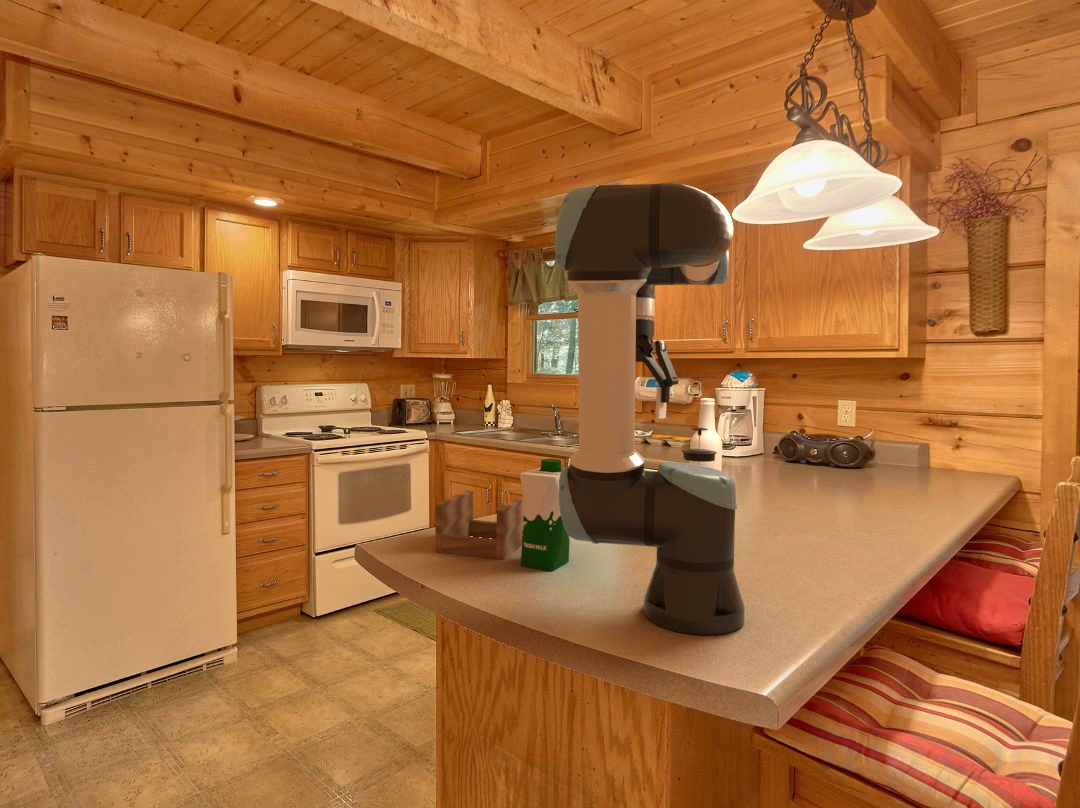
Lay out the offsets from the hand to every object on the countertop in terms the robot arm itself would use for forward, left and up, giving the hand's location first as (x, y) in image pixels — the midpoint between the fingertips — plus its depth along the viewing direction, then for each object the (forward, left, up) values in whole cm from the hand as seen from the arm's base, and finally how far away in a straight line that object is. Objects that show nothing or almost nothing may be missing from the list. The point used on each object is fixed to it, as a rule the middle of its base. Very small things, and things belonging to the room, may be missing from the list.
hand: (634, 416), depth 144 cm
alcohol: (+47, -12, -28) cm, 55 cm away
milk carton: (-23, +12, -28) cm, 38 cm away
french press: (+32, -12, -28) cm, 44 cm away
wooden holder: (-16, +28, -28) cm, 43 cm away
